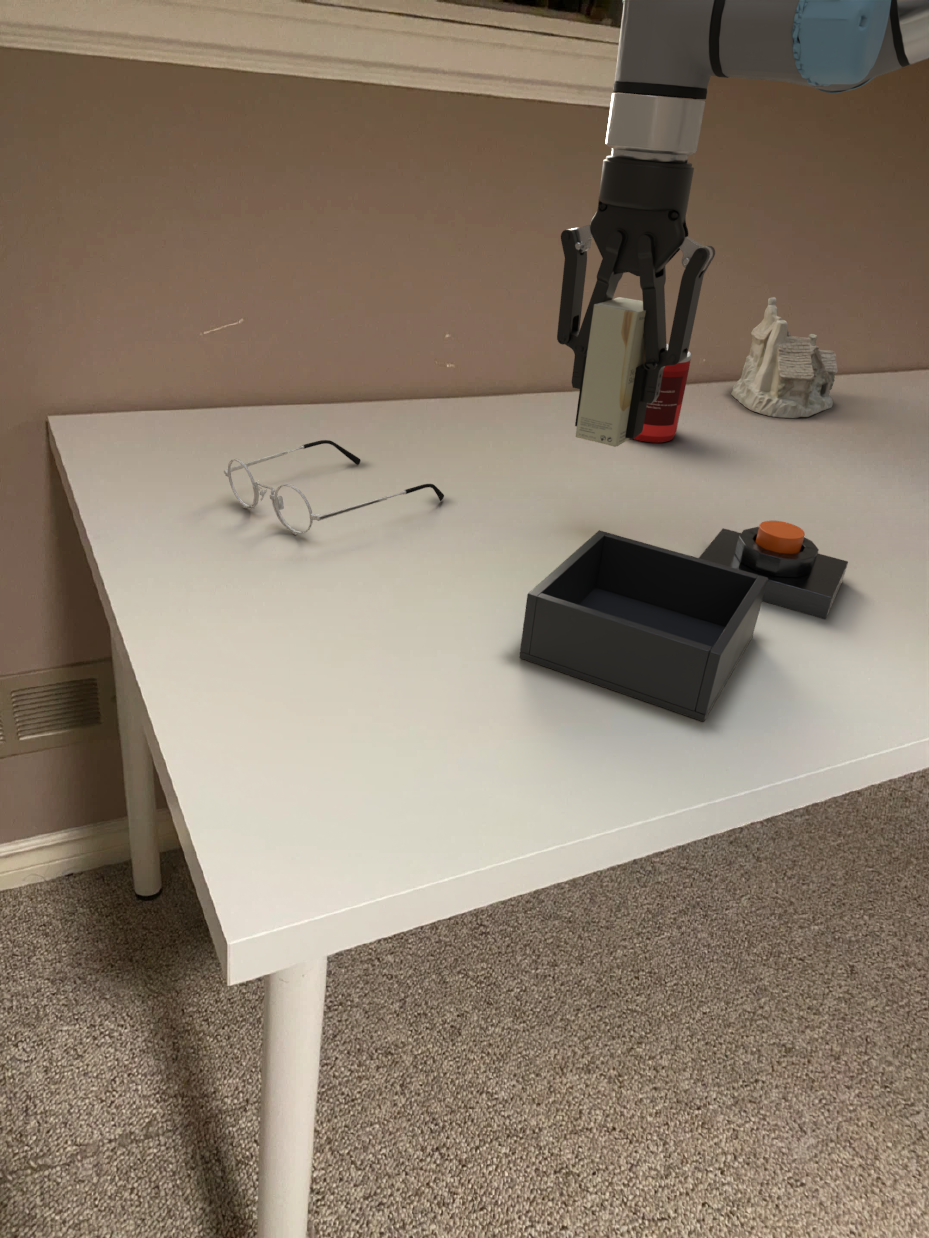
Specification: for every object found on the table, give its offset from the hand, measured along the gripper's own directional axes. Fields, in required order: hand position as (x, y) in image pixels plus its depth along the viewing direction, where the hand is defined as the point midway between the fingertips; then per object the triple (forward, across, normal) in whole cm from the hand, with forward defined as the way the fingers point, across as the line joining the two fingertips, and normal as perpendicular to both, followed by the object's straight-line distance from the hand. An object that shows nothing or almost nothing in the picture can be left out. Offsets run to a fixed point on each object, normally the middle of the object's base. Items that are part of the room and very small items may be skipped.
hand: (608, 428), depth 90 cm
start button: (+7, -18, 0) cm, 19 cm away
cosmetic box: (+1, 0, 0) cm, 1 cm away
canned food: (+11, +6, -35) cm, 37 cm away
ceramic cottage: (+11, -6, -65) cm, 66 cm away
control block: (+11, -18, 0) cm, 21 cm away
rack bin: (+11, -12, +19) cm, 25 cm away
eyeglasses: (+11, +24, +10) cm, 28 cm away
